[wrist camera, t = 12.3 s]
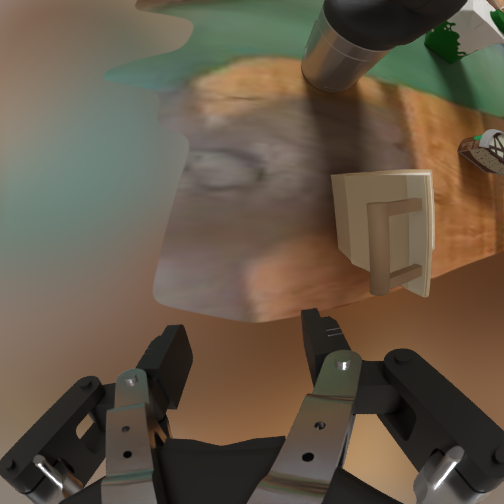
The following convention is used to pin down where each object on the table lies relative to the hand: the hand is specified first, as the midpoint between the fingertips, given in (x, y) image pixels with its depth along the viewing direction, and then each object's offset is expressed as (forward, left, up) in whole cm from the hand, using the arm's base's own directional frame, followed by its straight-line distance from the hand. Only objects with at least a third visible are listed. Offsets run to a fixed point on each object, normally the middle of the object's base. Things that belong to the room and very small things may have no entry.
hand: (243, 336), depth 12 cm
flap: (0, +15, -17) cm, 22 cm away
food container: (-10, +46, -32) cm, 57 cm away
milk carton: (-33, +43, -32) cm, 63 cm away
